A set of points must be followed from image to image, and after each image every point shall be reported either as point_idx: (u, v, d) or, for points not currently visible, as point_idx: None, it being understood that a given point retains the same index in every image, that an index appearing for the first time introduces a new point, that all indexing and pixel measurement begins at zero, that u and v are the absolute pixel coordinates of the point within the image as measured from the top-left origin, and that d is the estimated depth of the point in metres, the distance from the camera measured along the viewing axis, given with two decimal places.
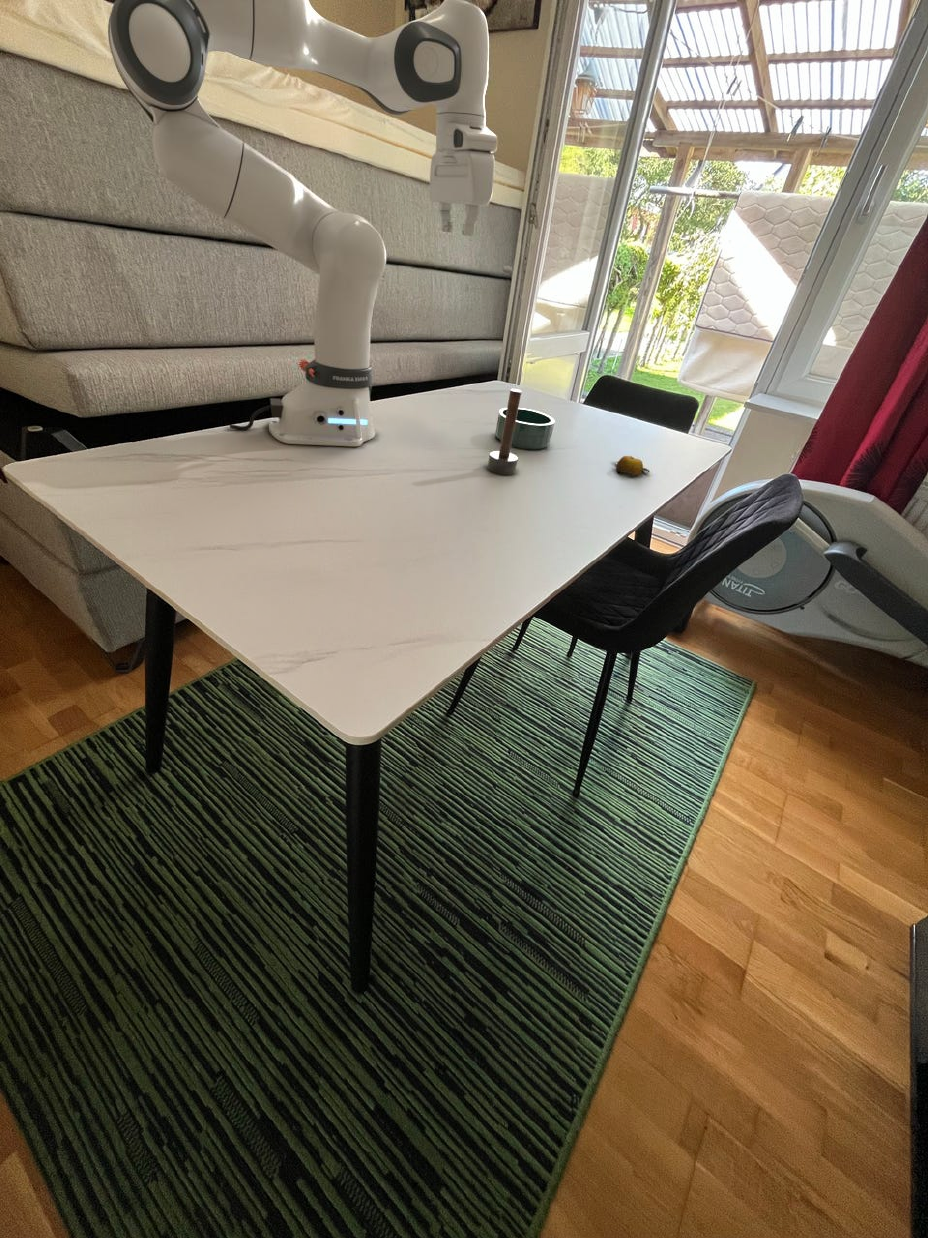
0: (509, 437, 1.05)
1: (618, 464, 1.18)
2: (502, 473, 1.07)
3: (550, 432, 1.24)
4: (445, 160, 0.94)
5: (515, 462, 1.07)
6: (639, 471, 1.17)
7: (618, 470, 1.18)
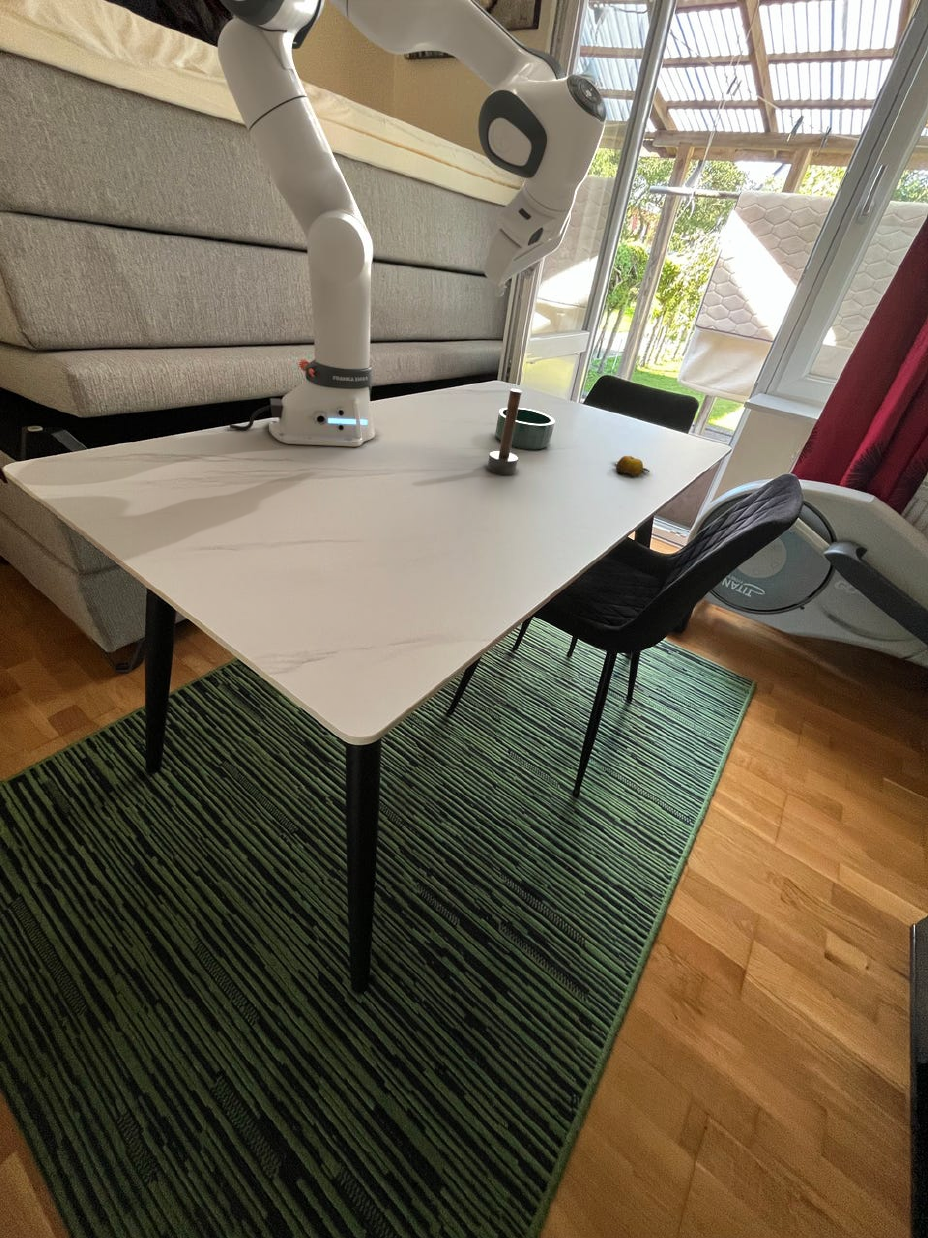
0: (509, 437, 1.05)
1: (618, 464, 1.18)
2: (502, 473, 1.07)
3: (550, 432, 1.24)
4: None
5: (515, 462, 1.07)
6: (639, 471, 1.17)
7: (618, 470, 1.18)
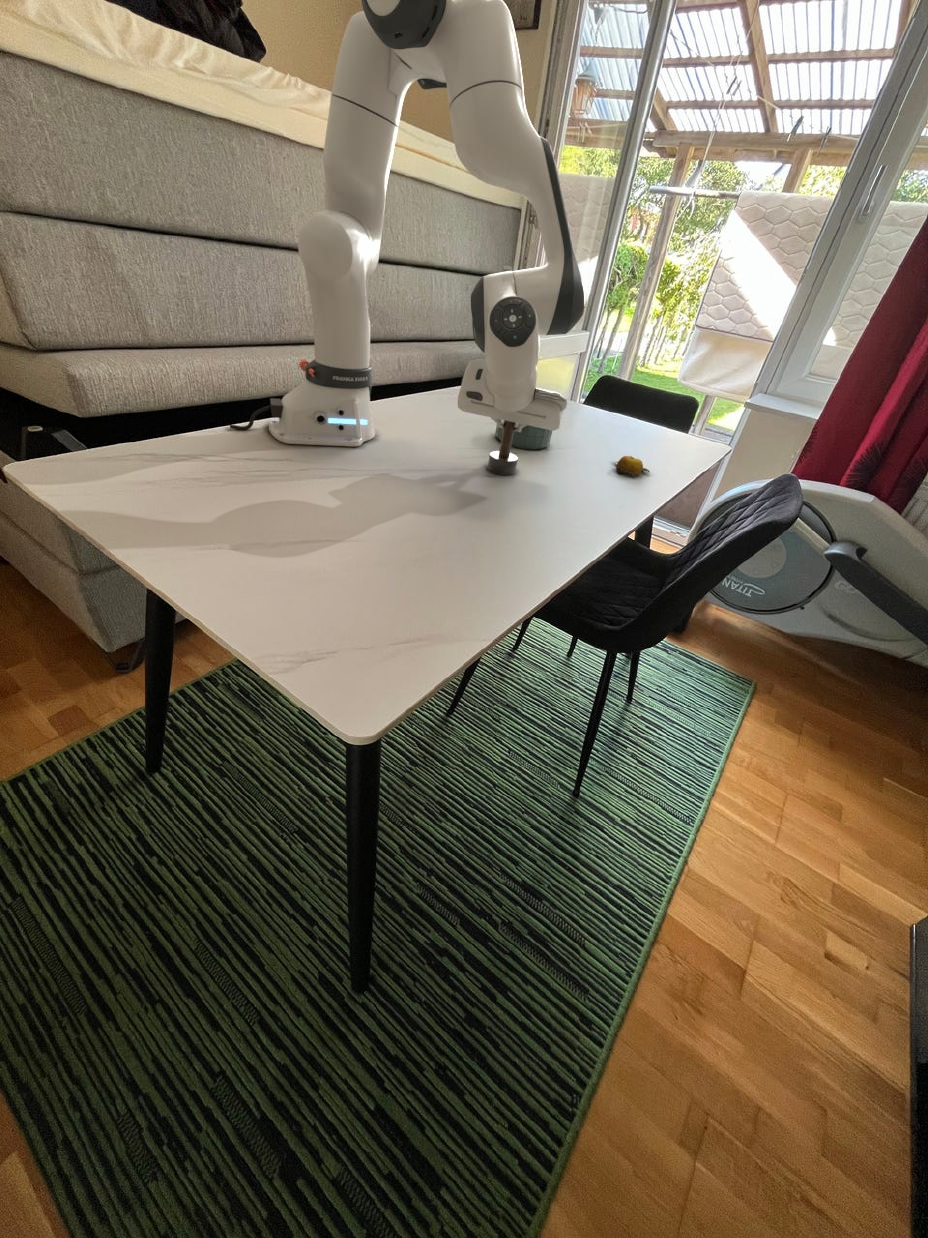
0: (509, 437, 1.05)
1: (618, 464, 1.18)
2: (502, 473, 1.07)
3: (550, 432, 1.24)
4: None
5: (515, 462, 1.07)
6: (639, 471, 1.17)
7: (618, 470, 1.18)
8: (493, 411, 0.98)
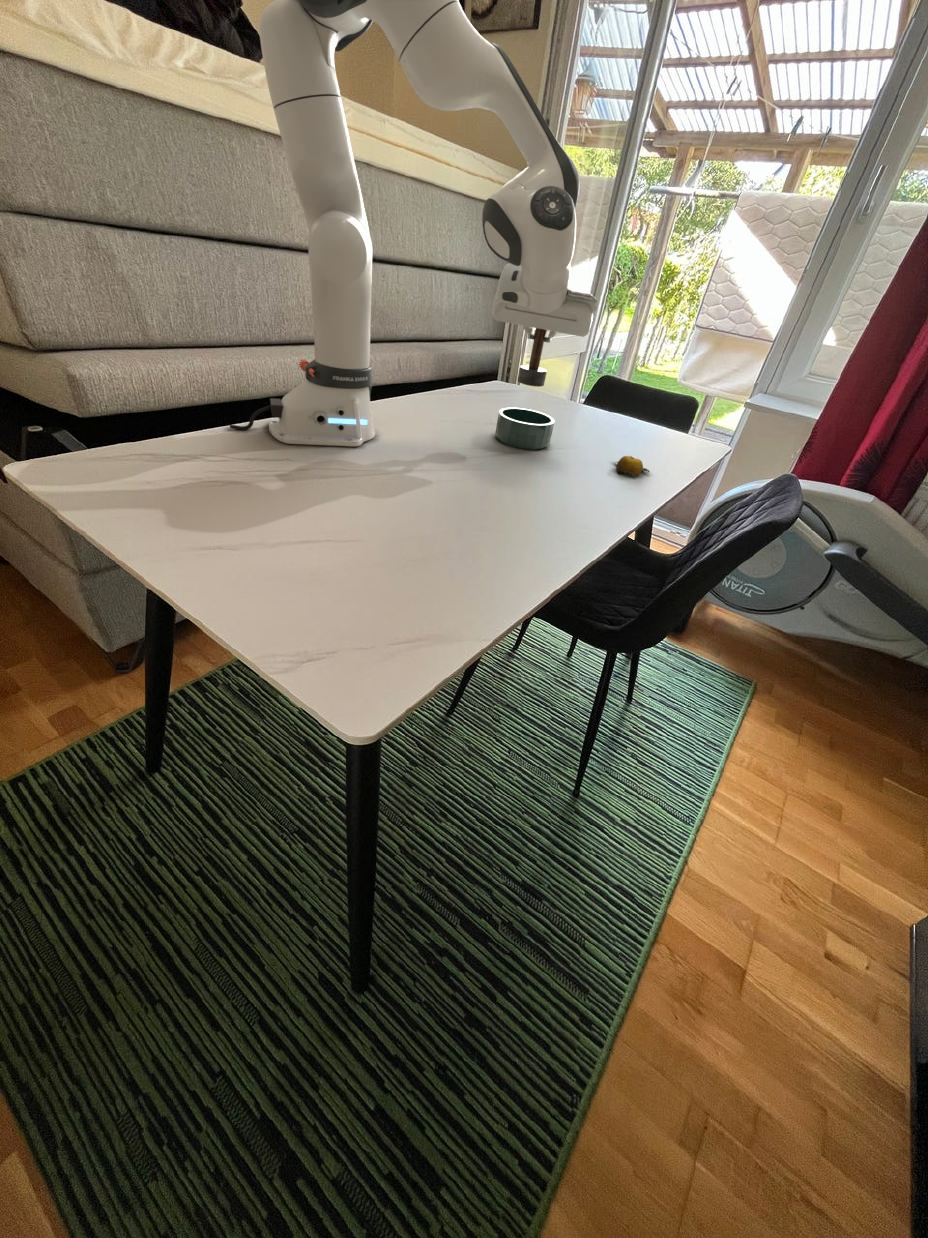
0: (539, 348, 1.10)
1: (618, 464, 1.18)
2: (532, 384, 1.13)
3: (550, 432, 1.24)
4: None
5: (544, 373, 1.12)
6: (639, 471, 1.17)
7: (618, 470, 1.18)
8: (526, 317, 1.03)
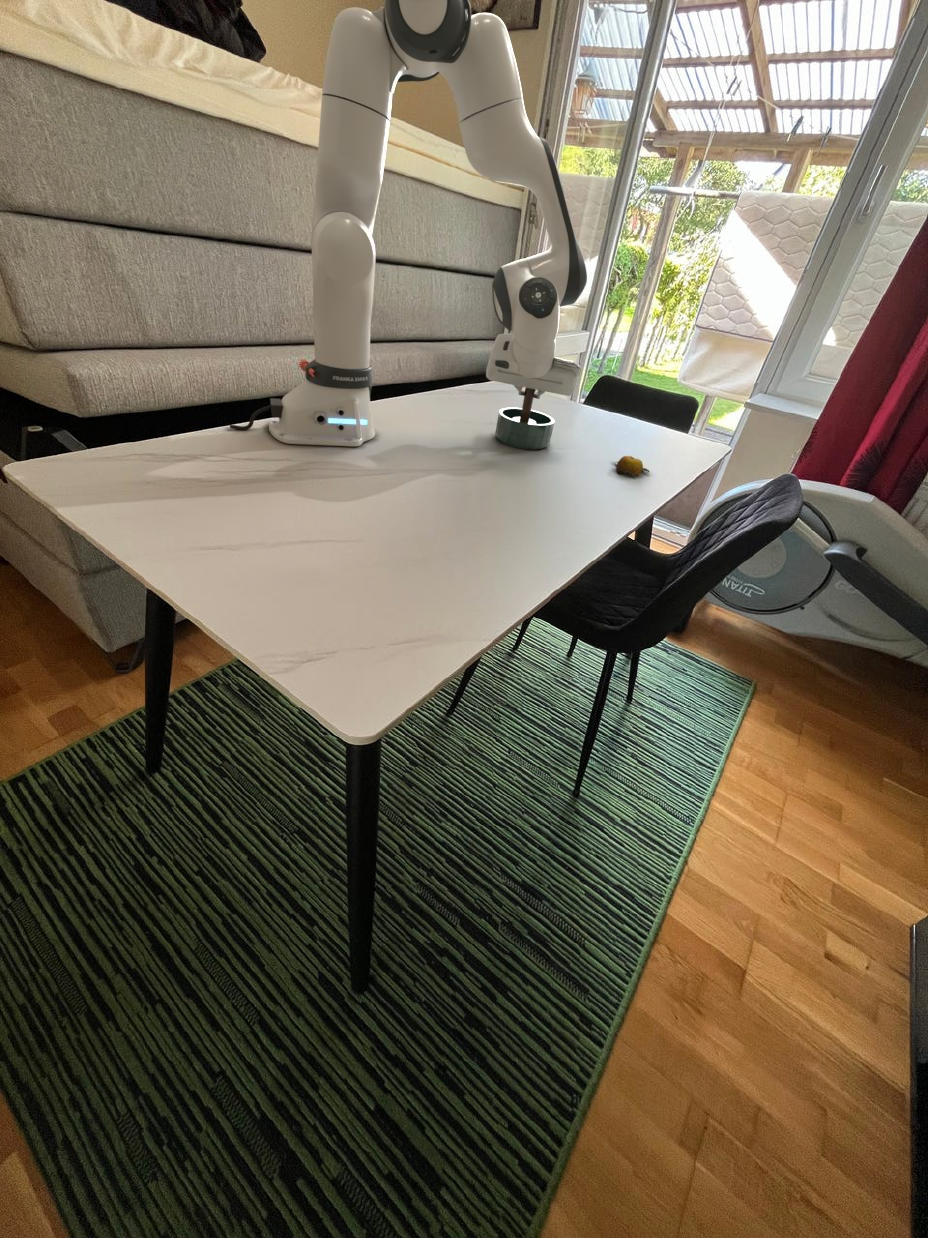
0: (529, 403, 1.21)
1: (618, 464, 1.18)
2: None
3: (550, 432, 1.24)
4: None
5: None
6: (639, 471, 1.17)
7: (618, 470, 1.18)
8: (516, 379, 1.15)
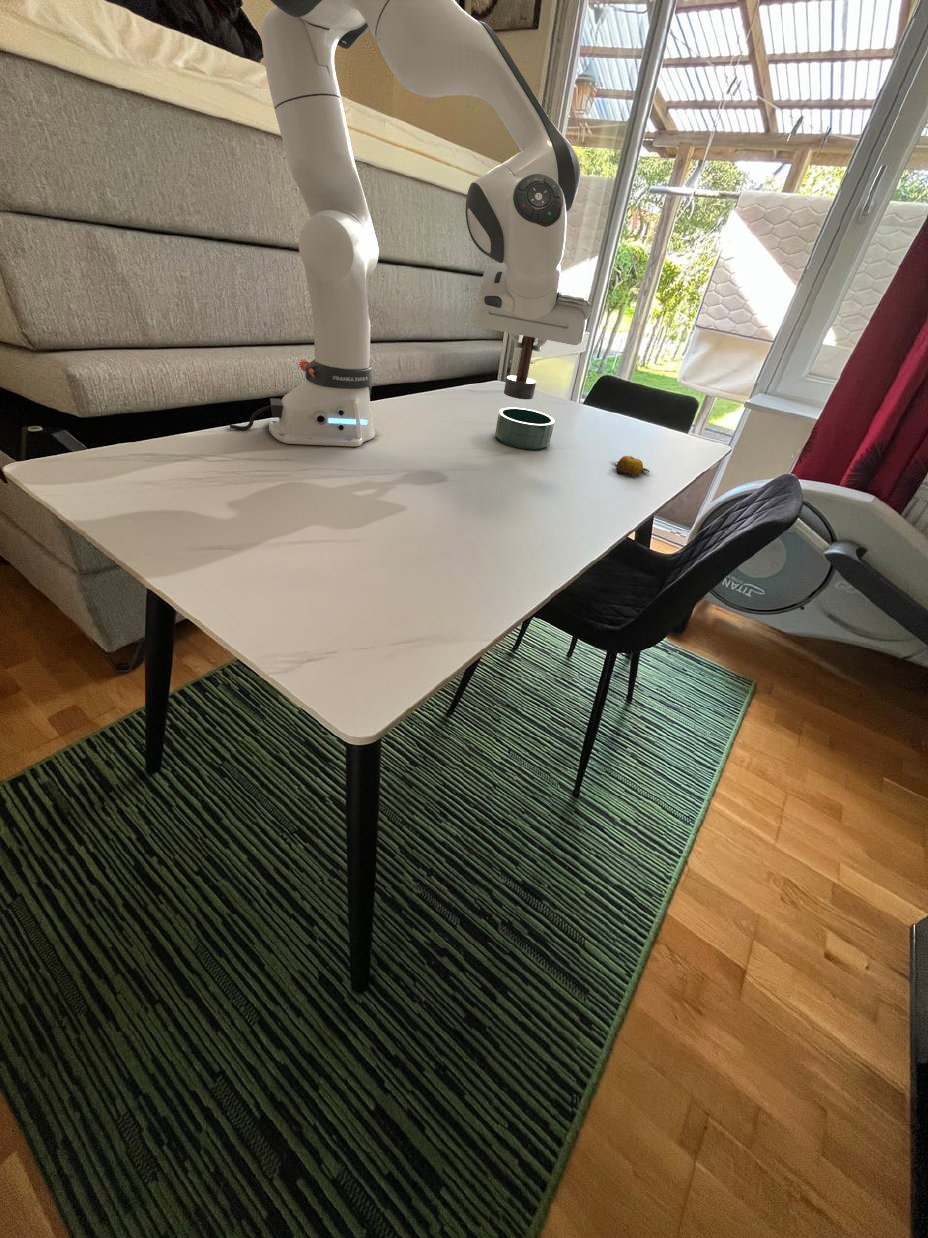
0: (527, 357, 0.99)
1: (618, 464, 1.18)
2: (520, 397, 1.02)
3: (550, 432, 1.24)
4: None
5: (533, 385, 1.02)
6: (639, 471, 1.17)
7: (618, 470, 1.18)
8: (512, 324, 0.93)
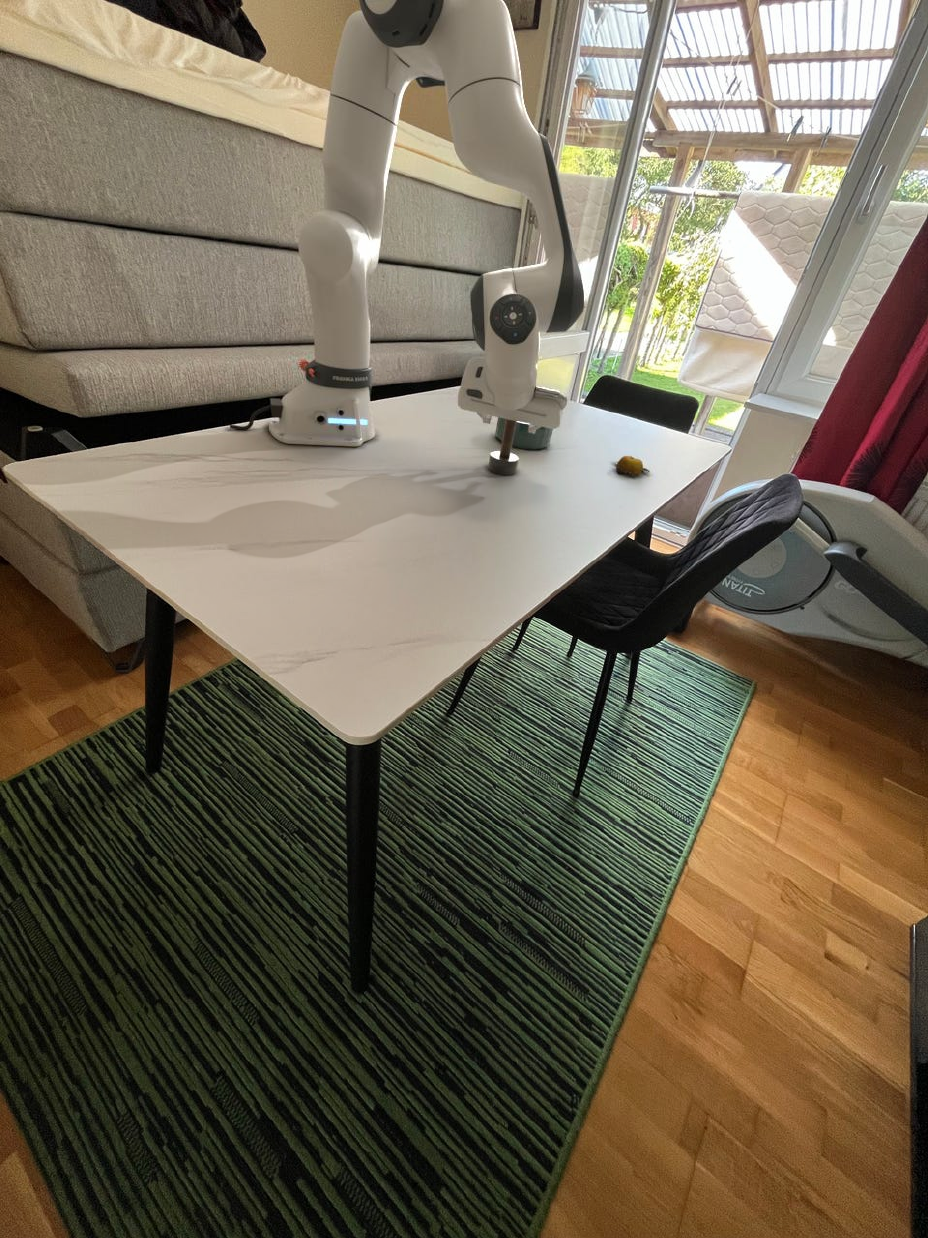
0: (510, 437, 1.05)
1: (618, 464, 1.18)
2: (503, 473, 1.07)
3: (550, 432, 1.24)
4: None
5: (516, 462, 1.07)
6: (639, 471, 1.17)
7: (618, 470, 1.18)
8: (493, 409, 0.98)
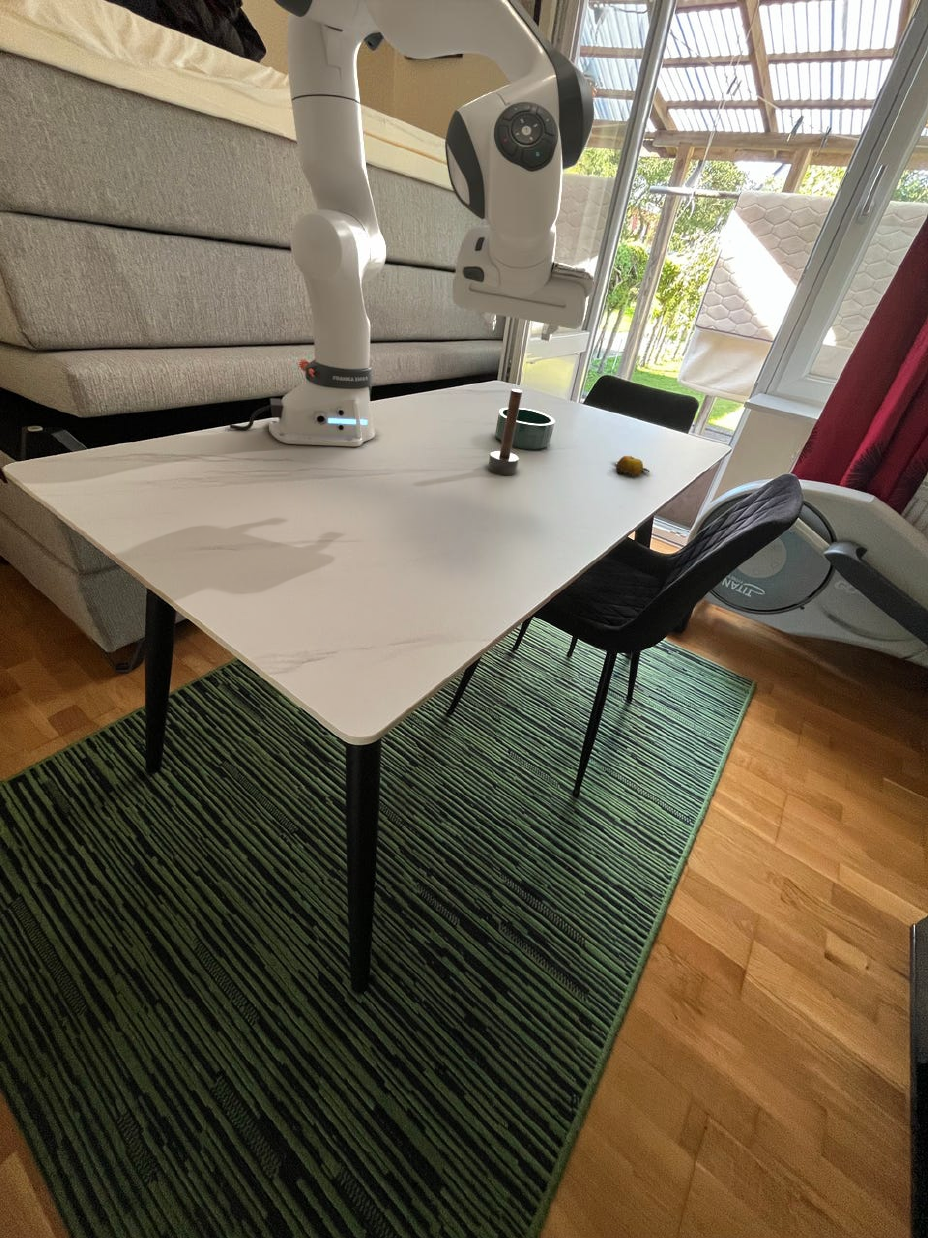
0: (510, 437, 1.05)
1: (618, 464, 1.18)
2: (503, 473, 1.07)
3: (550, 432, 1.24)
4: None
5: (516, 462, 1.07)
6: (639, 471, 1.17)
7: (618, 470, 1.18)
8: (498, 303, 0.77)
